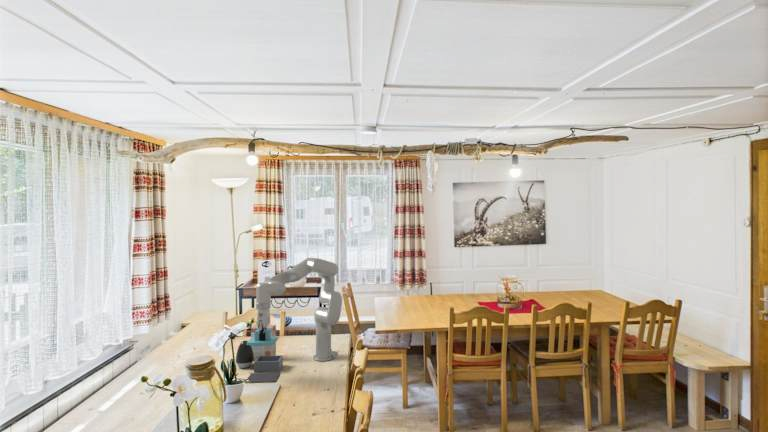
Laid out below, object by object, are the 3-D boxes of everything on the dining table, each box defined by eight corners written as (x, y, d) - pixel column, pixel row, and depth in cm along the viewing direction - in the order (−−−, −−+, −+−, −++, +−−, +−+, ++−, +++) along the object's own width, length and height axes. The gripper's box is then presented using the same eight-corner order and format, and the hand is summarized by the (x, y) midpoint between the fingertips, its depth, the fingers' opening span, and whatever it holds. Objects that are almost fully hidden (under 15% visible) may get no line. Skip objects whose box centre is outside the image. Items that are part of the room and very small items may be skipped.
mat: (251, 374, 212) (251, 373, 212) (280, 373, 213) (280, 372, 213) (244, 383, 200) (244, 382, 200) (275, 382, 201) (275, 381, 201)
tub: (258, 366, 224) (258, 355, 224) (282, 365, 225) (282, 355, 225) (254, 372, 214) (254, 362, 214) (279, 372, 215) (279, 361, 215)
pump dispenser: (248, 370, 218) (248, 343, 218) (231, 369, 220) (232, 342, 220) (257, 364, 228) (257, 338, 228) (241, 362, 230) (242, 337, 230)
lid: (252, 341, 212) (252, 328, 212) (278, 340, 213) (278, 327, 213) (246, 347, 201) (246, 333, 202) (274, 346, 202) (274, 332, 202)
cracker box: (276, 358, 237) (276, 324, 238) (272, 361, 231) (272, 327, 232) (254, 357, 239) (254, 324, 239) (250, 360, 233) (250, 326, 233)
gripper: (266, 308, 200) (266, 343, 199) (273, 302, 216) (273, 335, 216) (252, 309, 199) (251, 344, 199) (260, 302, 216) (260, 335, 215)
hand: (263, 339), depth 207 cm, fingers closed on lid, 3 cm apart
